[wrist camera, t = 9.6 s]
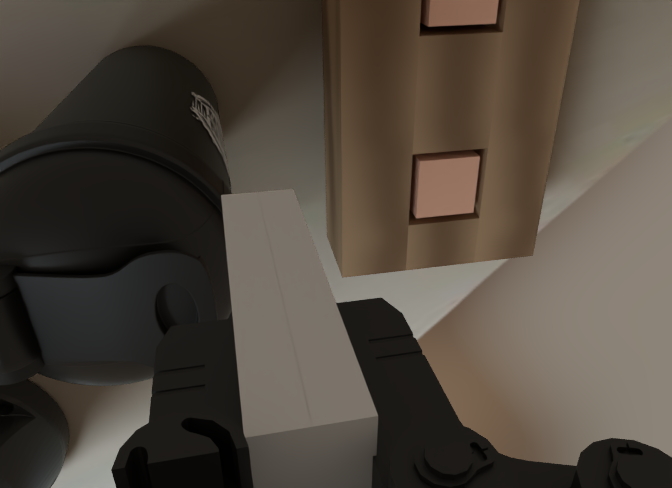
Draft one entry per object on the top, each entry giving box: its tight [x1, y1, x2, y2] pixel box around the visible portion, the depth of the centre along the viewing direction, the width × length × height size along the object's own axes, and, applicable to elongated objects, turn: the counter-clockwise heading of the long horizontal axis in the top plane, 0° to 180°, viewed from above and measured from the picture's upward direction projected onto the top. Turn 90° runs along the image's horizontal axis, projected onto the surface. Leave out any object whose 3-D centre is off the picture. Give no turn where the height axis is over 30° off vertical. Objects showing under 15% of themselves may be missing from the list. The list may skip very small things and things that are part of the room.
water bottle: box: [0, 46, 233, 386], centre depth 28 cm, size 10×10×23 cm
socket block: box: [322, 0, 580, 278], centre depth 37 cm, size 14×24×6 cm, turn 1°
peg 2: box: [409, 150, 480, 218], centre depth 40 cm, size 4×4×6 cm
